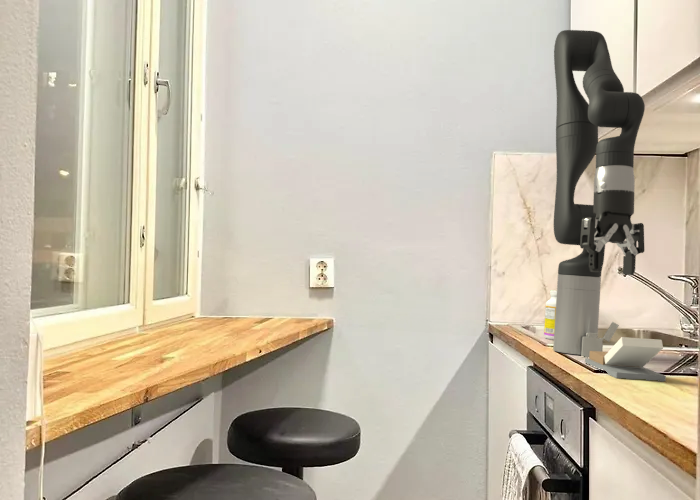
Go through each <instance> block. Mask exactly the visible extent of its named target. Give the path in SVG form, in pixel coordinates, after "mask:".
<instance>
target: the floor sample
mask: <svg viewBox="0 0 700 500" xmlns="http://www.w3.org/2000/svg"><path fill="white" fill-rule="evenodd" d="M608 352H609V351H602V352H601V351H590V355H589V358H585V357H584V363H585V362H586V363H588V364H590V365H592V366H595V367H597V368H600V369H603V370H605V371H606V372H607V373H608V374H607V375H609V376H611V377H613V378H615V379H621V378H626V379H625V380H635V379H646V380H645V381H650V380H658V381H657V382H664V381H665V382H666V378H667V377H666V376H667V375H665V374H662V373H659V372H656V371H655V370H651V369H650V368H646V367H645V366H644V367H637V366H622V365H607V364H605V358H604V356H605V355H606V354H607V353H608ZM659 380H660V381H659Z"/></svg>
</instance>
